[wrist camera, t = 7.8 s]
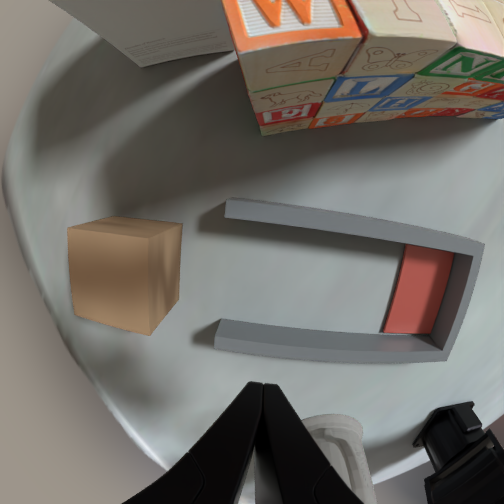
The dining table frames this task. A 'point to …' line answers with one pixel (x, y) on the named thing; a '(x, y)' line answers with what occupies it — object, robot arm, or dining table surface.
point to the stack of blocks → (368, 59)
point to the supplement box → (155, 27)
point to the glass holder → (344, 451)
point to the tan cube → (125, 271)
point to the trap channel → (403, 303)
